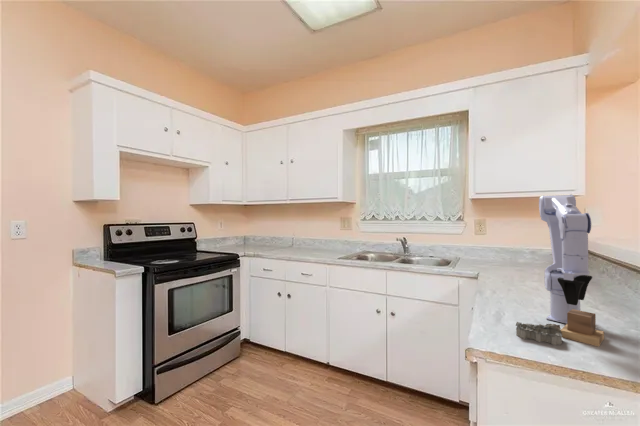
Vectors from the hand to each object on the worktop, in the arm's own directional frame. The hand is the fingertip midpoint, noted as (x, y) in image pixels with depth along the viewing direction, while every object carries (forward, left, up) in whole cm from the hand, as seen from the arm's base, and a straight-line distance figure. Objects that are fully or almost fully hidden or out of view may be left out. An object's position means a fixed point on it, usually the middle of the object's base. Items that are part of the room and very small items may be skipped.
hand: (575, 301), depth 83 cm
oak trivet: (0, +1, -10) cm, 11 cm away
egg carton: (+10, -6, -10) cm, 16 cm away
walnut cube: (0, +1, -8) cm, 8 cm away
